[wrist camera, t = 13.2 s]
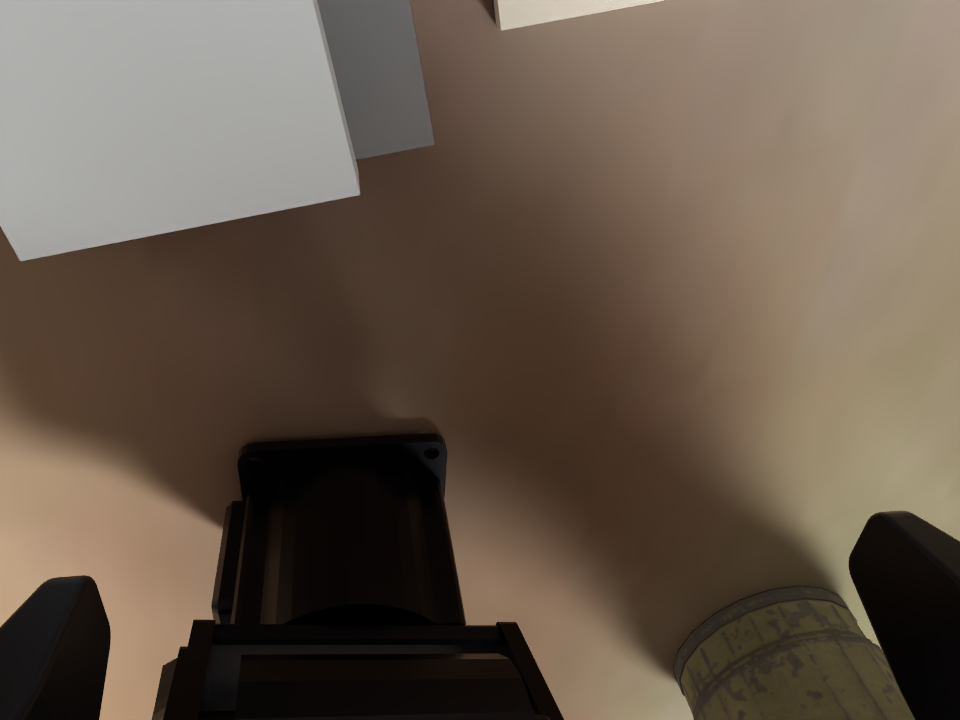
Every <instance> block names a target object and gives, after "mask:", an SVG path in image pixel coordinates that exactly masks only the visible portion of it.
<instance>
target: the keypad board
mask: <svg viewBox="0 0 960 720" xmlns="http://www.w3.org/2000/svg"><path fill="white" fill-rule="evenodd" d="M317 2H318V6H319V10H320V14H321V18H322V22H323V27H324V31H325V35H326V39H327V43H328V47H329V51H330V55H331V60H332V64H333V68H334V72H335V76H336V80H337V84H338V88H339V93H340V97H341V101H342V105H343V109H344V113H345V117H346V121H347V126H348V130H349V134H350V138H351V142H352V146H353V150H354V154H355V159H356V160H358V159H364V158H369V157H374V156H379V155H384V154H390V153H395V152H400V151H405V150H410V149H416V148H421V147H426V146H431V145H435V142H434V136H433V131H432V125H431V119H430V114H429V108H428V102H427V97H426V91H425V85H424V79H423V74H422V68H421V62H420V57H419V51H418V45H417V40H416V34H415V28H414V22H413V17H412V11H411V5H410V0H317ZM0 229H1V226H0Z"/></svg>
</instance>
